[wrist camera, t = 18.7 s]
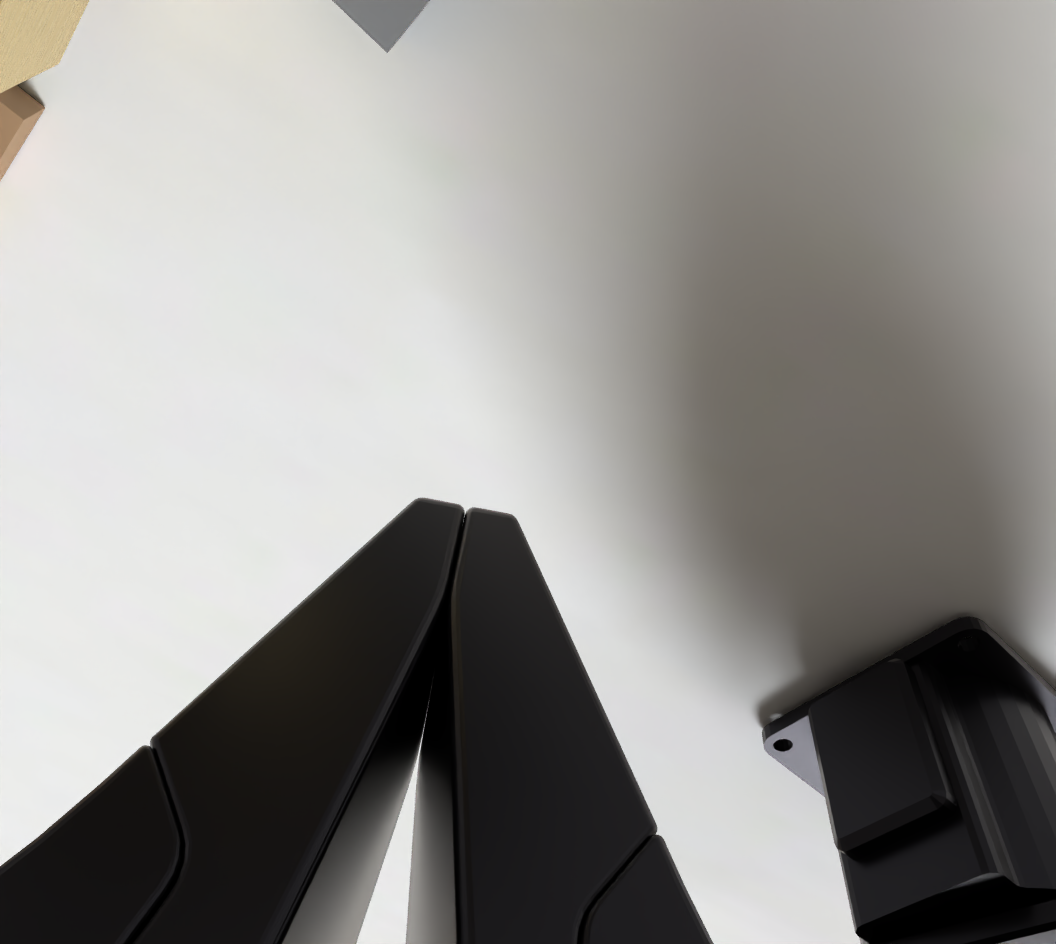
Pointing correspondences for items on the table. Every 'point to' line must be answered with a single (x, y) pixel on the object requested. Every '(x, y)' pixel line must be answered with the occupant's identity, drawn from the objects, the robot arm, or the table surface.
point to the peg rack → (15, 123)
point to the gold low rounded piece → (34, 36)
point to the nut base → (383, 17)
